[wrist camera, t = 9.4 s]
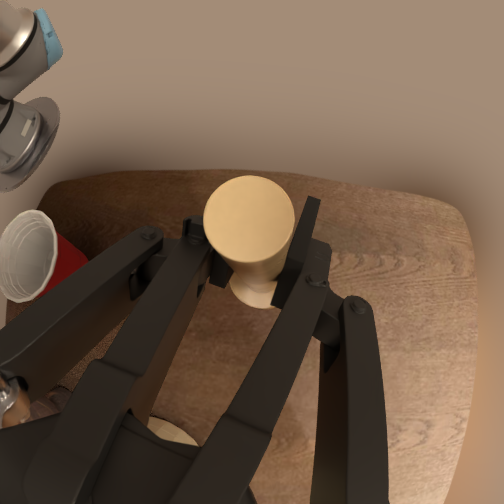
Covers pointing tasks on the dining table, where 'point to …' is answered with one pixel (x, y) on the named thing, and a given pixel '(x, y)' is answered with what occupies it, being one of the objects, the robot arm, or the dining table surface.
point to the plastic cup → (35, 257)
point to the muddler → (251, 235)
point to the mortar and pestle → (48, 404)
